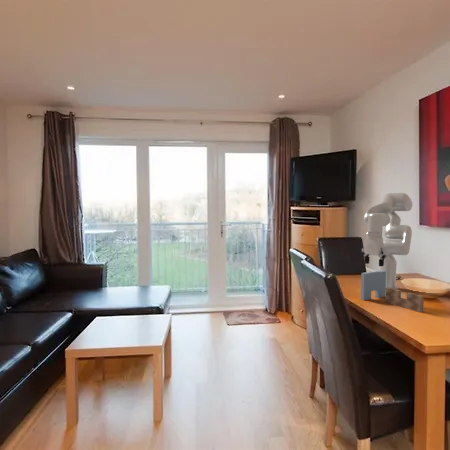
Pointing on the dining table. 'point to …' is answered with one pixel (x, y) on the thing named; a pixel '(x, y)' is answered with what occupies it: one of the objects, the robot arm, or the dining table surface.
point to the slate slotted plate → (373, 284)
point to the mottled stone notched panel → (411, 302)
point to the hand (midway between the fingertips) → (373, 264)
